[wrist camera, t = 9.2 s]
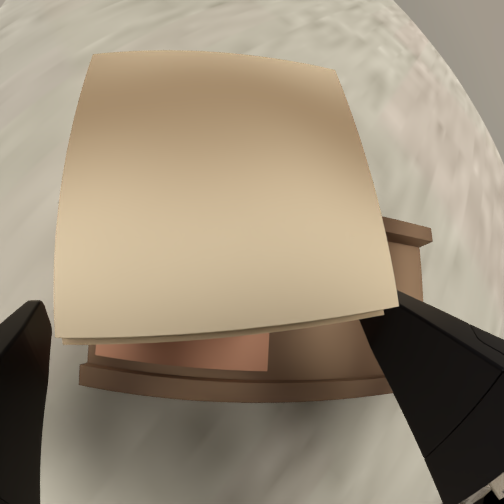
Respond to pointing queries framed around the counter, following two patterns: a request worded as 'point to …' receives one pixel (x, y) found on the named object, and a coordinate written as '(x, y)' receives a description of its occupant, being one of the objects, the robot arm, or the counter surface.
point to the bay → (263, 354)
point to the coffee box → (475, 496)
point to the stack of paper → (214, 203)
